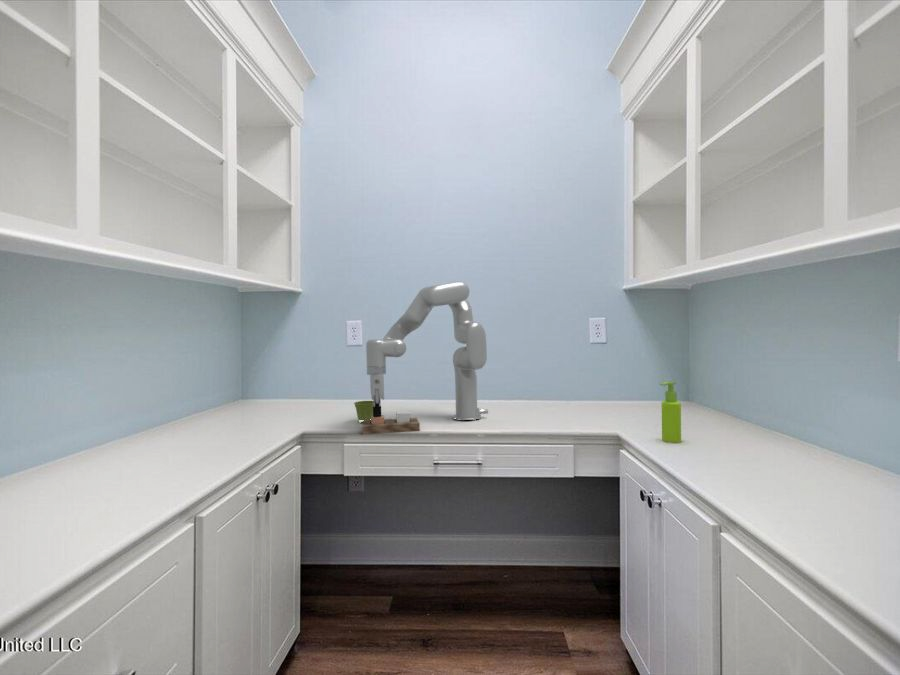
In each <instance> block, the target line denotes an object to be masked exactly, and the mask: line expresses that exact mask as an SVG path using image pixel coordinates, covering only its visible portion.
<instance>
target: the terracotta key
mask: <svg viewBox="0 0 900 675" xmlns="http://www.w3.org/2000/svg"><path fill="white" fill-rule="evenodd" d="M384 419H385V415H384V414H381V417H373V416H371V424H384Z"/></svg>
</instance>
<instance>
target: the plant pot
mask: <svg viewBox="0 0 900 675" xmlns="http://www.w3.org/2000/svg"><path fill="white" fill-rule="evenodd" d="M353 404H354V407H355V410H356V416H357V420H358V419H359V420H370V419H371V416H373V407H374V402H373V400H359V401H355V402H353Z"/></svg>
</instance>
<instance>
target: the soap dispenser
mask: <svg viewBox="0 0 900 675" xmlns="http://www.w3.org/2000/svg"><path fill="white" fill-rule="evenodd" d="M659 385H660V386H664V387H665V386H667V390H666V391H665V394H664V395H665V400H663V401H661V440H663V441H662V442H664V441H665V442H666V443H669V442H671V443H670V444H678V443H679V442H680V443H682V403H681V402H680V401H678V400H677V399H678V397H677V391H675V387H674V386H675V385H677V382H675V381H665V382H661V383H660V384H659ZM665 442H664V443H665Z"/></svg>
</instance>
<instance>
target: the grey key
mask: <svg viewBox="0 0 900 675" xmlns="http://www.w3.org/2000/svg"><path fill="white" fill-rule="evenodd" d="M395 412H396V413H395V415H396V418H395V419H396V422H397V423H406V422H410V418H411V416H410V414H411V413H410V411H408V410H403V411H402V410H401V411H395Z"/></svg>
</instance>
